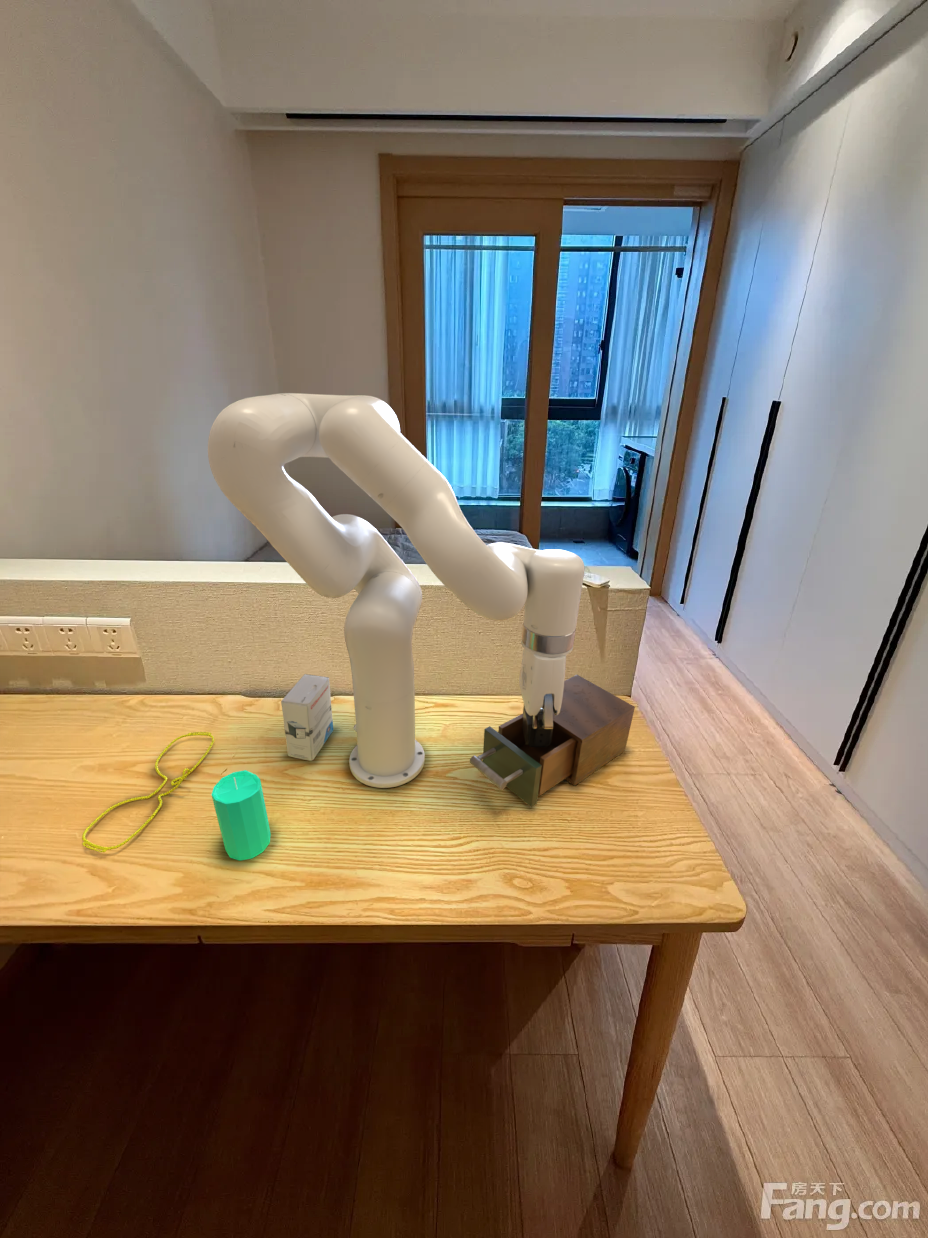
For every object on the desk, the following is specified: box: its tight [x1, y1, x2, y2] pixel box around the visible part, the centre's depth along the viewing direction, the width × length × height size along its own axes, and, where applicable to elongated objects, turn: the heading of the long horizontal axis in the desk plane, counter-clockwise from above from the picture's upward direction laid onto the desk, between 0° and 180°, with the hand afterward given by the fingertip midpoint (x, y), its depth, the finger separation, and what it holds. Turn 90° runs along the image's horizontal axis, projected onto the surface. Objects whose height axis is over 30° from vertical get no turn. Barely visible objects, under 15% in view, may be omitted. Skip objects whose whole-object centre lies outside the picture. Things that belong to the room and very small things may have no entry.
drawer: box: [468, 712, 578, 808], centre depth 83 cm, size 18×11×8 cm, turn 129°
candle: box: [211, 769, 272, 862], centre depth 69 cm, size 6×6×12 cm
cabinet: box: [522, 674, 636, 786], centre depth 90 cm, size 14×13×10 cm
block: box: [522, 709, 553, 745], centre depth 82 cm, size 4×4×4 cm
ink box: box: [280, 673, 334, 762], centre depth 88 cm, size 9×5×12 cm, turn 168°
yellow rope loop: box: [81, 731, 215, 853], centre depth 79 cm, size 25×10×5 cm, turn 172°
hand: (535, 735), depth 82 cm, fingers closed on block, 4 cm apart
